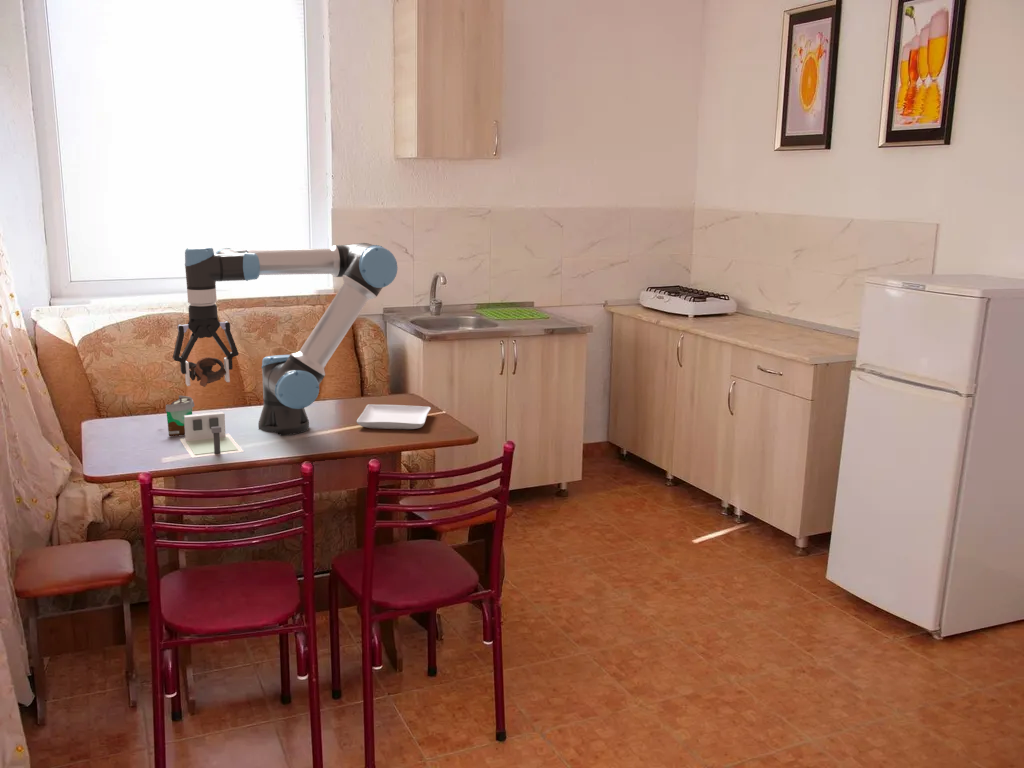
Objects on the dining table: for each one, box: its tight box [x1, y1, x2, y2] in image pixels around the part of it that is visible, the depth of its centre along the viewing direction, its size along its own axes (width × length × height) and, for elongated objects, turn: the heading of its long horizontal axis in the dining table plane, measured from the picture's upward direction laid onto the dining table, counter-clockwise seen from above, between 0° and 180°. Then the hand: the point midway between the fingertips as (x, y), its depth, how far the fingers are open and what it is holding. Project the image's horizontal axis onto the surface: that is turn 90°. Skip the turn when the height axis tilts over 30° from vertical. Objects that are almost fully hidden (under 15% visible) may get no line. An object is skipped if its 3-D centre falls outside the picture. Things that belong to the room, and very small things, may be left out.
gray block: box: [211, 426, 221, 455], centre depth 257 cm, size 2×2×8 cm
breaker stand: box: [179, 411, 245, 458], centre depth 265 cm, size 14×20×8 cm
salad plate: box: [356, 403, 432, 430], centre depth 297 cm, size 21×21×3 cm
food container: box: [165, 395, 195, 437], centre depth 280 cm, size 12×6×10 cm, turn 0°
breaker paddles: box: [193, 418, 219, 431], centre depth 270 cm, size 7×1×3 cm, turn 118°
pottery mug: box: [188, 356, 226, 388], centre depth 260 cm, size 12×10×8 cm
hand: (207, 383), depth 260 cm, fingers closed on pottery mug, 10 cm apart
